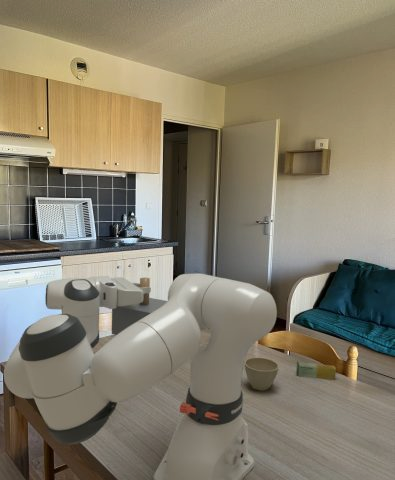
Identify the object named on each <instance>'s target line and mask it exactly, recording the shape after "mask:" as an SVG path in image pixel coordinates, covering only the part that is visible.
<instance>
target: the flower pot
mask: <svg viewBox="0 0 395 480" xmlns="http://www.w3.org/2000/svg"><path fill="white" fill-rule="evenodd" d="M244 370H245V375H246V377H247V380H248V383H249V384H250V386H251V387H252V389H253V390H257V391H262V392H263V391H267V390H269V389H270V387H271V386H272V385H273V383H274V381H275V379H276V377H277V374H278V372H279V364H278V362H276V361H274V360H273V359H269V358H266V357H260V356H259V357H257V356H256V357H248V358H247V359H246V360H245V359H244Z"/></svg>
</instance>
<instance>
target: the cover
mask: <svg viewBox="0 0 395 480" xmlns="http://www.w3.org/2000/svg"><path fill="white" fill-rule="evenodd" d="M139 283H140V288H142V287H145V286H148V287H150V288H151V286H150V283H151V278H150V277H141V278H139ZM167 301H168V300H165V299H164V300H163V299H157V298H154V297H153V298H152V297H150V293H145V294H143V302H141V303H139V304H134V305H128V306H117V307H116V308H115V309H111V335H115V336H116V335H117V334H119V333H120V332H122V331H123V330H125V329H126V328H127V327H129V326H131V325H132V324H134V323H136V322H137V321H139V320H141V319H142V318H144V317H146V316H147V315H149V314H151V313H152V312H154V311H155V310H157V309H159V308H160V307H162V306H163V305H164V304H165V303H166V302H167Z"/></svg>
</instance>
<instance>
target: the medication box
mask: <svg viewBox="0 0 395 480" xmlns="http://www.w3.org/2000/svg"><path fill="white" fill-rule="evenodd" d="M336 372H337V367H336V366H335V365H331V364H321V363H320V364H319V363H313V362H303V361H302V362H301V361H297V362H296V369H295V376H297V377H305V378H311V379H323V380H330V381H331V380H332V381H335V380H336V374H337V373H336Z"/></svg>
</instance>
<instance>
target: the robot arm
mask: <svg viewBox="0 0 395 480" xmlns="http://www.w3.org/2000/svg"><path fill="white" fill-rule="evenodd" d="M168 288H169V289H168V291H167V300H166V301H167V302H166V303H165V304H164V305H163V306H162V307H160V308H159V309H157V310H155V311H154V312H152V313H151V314H149V315H147V316H146V317H144V318H142V319H141V320H139V321H137V322H136V323H134V324H132V325H131V326H129V327H127V328H126V329H125V330H123V331H122V332H120V333H119V334H117V335H115V336H114V337H112V338H111V339H110V340H108V341H107V342H106V343H105V344H104V345H102V347H101V348H99V349H98V350H97V351H96V352H95V353H94V350H93V349H94V348H95V347H96V346H97V345H98V343H99V342H100V308H106V309H108V310H109V309H110V310H112V309H115V308H116V307H117V306H128V305H134V304H139V303H141V302H143V294H145V293H149V294H150V293H151V291H152V290H151V289H152V288H151V286H150V287H148V286H145V287H142V288H140V282H139V283H138V282H132V281H130V280H128V279H126V278H125V277H122V276H121V277H110V276H109V275H103V276H102V275H101V276H90V277H87V278H80V277H72V278H71V277H69V278H68V277H67V278H61V279H56V280H52V281H49V282H48V283H47V284H46V288H45V307H46V308H47V309H48V310H61V311H62V312H61V313H58V314H57V313H56V314H50V315H48V316H45V317H42V318H40V319H37V321H35V322H34V323H32V324H30V325H29V326H27V328H25V330H24V331H23V333H22V335H21V337H20V339H19V340H18V343H17V344H16V346H15V347H14V349H13V350H12V351H11V354H9V357H8V359H7V361H6V363H5V366H4V370H3V379H4V383H5V385H6V387H7V389H8V390H9V391H10V393H12V394H14V395H15V396H16V397H19V398H22V399H34V402H35V404H36V406H37V408H38V411H39V413H40V415H41V417H42V418H43V420H44V423H45V424H44V425H45V428H46V430H47V431H48V433H49V435H50V436H51V437H52V438H53V440H55V441H56V442H57V443H59V444H60V445H77V444H81V443H83V442H87V440H89V439H91V438H92V437H94V436H95V435H96V434H98V433H99V432H100V430H101V429H102V428H103V427H104V426H105V425H106V423H107V422H108V420H109V419H110V416H112V414H113V412H114V411H115V410H116V408H117V405H118V403H119V404H120V403H124V402H127V401H130V400H131V399H133V398H135V397H136V398H137V396H140V395H142V394H144V393H145V392H147V391H148V390H151V389H153V388H154V387H155V386H156V385H158V384H160V383H161V382H163V381H164V380H165V379H167V378H168V377H169V376H171V375H172V374H173V373H174V372H176V371H178V370H179V369H181V367H183V366H184V365H185V364H187V363H188V362H189V361H190V370H189V371H190V373H189V374H190V375H189V386H188V387H189V388H188V389H187V393H186V396H185V397H186V398H185V402H184V401H183V402H181V403H180V406H179V413H182V414H181V417H180V418H179V421H178V424H177V426H176V429H175V430H174V433H173V435H172V438H171V440H170V443H169V445H168V448H167V450H166V452H165V454H164V456H163V457H162V459H161V461H160V463H159V465H158V466H157V468H156V471H155V472H154V474H153V480H243V478H244V477H246V475H247V474H249V473H250V471H251V470H252V469H253V468H254V467H255V460H254V458H253V457H252V456H251V454H249V425H248V423H247V421H246V419H244V416H243V413H242V412H243V405H244V395H243V394H244V393H243V391H242V383H243V381H242V379H243V371H244V365H245V359H246V356H247V355H248V354H247V353H248V352H249V350H250V349H251V347H252V346H253V345H254V344H255V343H257V342H258V341H260V340H262V339H264V338H265V337H266V336H267V335H269V333H270V332H271V331H272V330H273V328H274V326H275V324H276V321H277V317H278V316H277V315H278V309H277V304H276V301H275V299H274V297H273V295H272V293H270V292H268V291H267V290H264V289H263V288H260V287H258V286H256V285H254V284H251V283H248V282H243V281H241V280H240V281H239V280H233V279H229V278H225V277H219V276H215V275H209V274H206V273H183V274H179V275H178V276H177V277H175V279H174V280H173V281H172V283H171V284H170V286H169V287H168ZM204 330H209V331H210V339H209V341H208V342H207V343H205V344H202V332H201V331H204ZM201 344H202V345H201Z"/></svg>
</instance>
